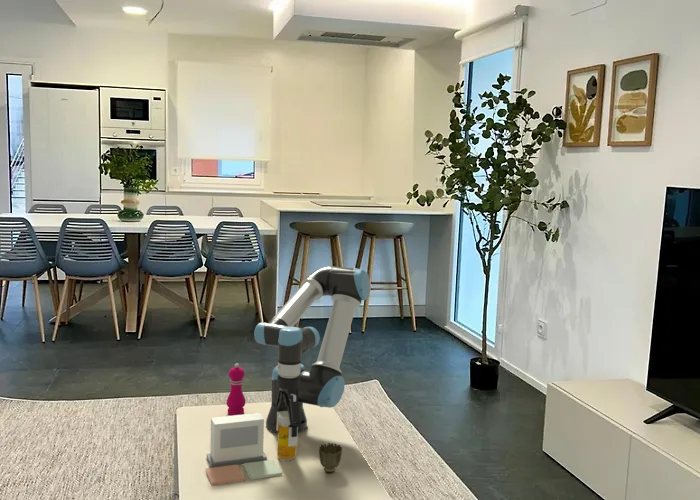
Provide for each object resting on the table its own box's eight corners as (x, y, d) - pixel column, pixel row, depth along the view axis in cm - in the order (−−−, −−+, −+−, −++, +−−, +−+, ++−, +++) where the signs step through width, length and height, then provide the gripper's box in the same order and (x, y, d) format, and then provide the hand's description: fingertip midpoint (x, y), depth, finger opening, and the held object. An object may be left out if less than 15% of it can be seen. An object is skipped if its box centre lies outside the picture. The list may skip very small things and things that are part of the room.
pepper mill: (241, 417, 251) (242, 366, 249) (223, 415, 252) (224, 364, 250) (247, 411, 258) (249, 361, 256) (230, 409, 259) (231, 359, 257)
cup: (318, 465, 212) (319, 441, 212) (341, 466, 212) (342, 443, 211) (317, 476, 205) (317, 451, 204) (340, 477, 205) (341, 452, 204)
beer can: (274, 454, 219) (276, 411, 218) (292, 452, 222) (293, 409, 220) (280, 462, 214) (281, 418, 212) (298, 459, 216) (299, 415, 214)
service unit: (260, 451, 221) (261, 411, 220) (266, 461, 214) (267, 419, 212) (206, 458, 214) (207, 417, 213) (211, 468, 207) (212, 426, 206)
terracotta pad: (237, 466, 209) (237, 464, 209) (244, 480, 200) (244, 478, 200) (205, 470, 205) (205, 468, 205) (211, 485, 196) (211, 482, 196)
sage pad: (273, 461, 214) (273, 459, 214) (282, 475, 205) (282, 472, 205) (243, 465, 210) (243, 463, 210) (250, 479, 201) (250, 477, 201)
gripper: (267, 365, 224) (265, 425, 227) (289, 387, 202) (286, 453, 204) (288, 364, 227) (286, 423, 229) (312, 385, 204) (309, 451, 207)
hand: (286, 437), depth 217 cm, fingers open, 13 cm apart
